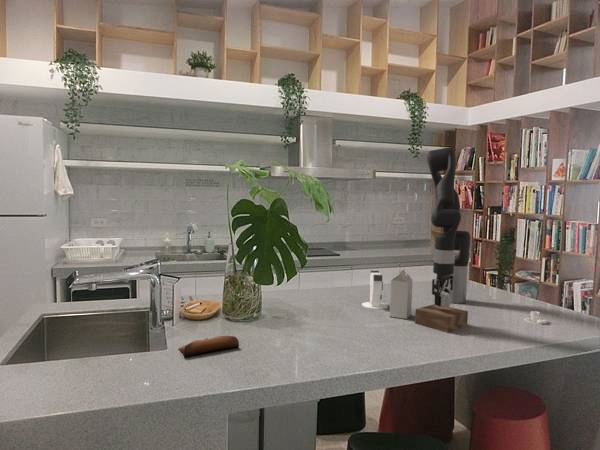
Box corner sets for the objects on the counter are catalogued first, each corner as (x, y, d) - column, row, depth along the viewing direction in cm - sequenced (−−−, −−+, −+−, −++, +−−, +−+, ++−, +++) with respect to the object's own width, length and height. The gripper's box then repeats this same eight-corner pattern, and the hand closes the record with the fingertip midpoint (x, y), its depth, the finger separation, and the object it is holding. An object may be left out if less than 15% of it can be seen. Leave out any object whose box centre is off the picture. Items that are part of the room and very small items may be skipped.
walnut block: (435, 318, 183) (435, 303, 182) (467, 326, 172) (467, 311, 172) (414, 324, 174) (415, 309, 173) (447, 333, 163) (448, 317, 163)
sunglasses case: (228, 339, 150) (232, 325, 147) (236, 356, 146) (240, 342, 142) (175, 349, 141) (178, 334, 137) (181, 367, 136) (185, 352, 133)
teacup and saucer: (549, 326, 175) (550, 316, 175) (527, 324, 177) (528, 314, 176) (542, 320, 184) (543, 310, 183) (521, 318, 185) (522, 308, 185)
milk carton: (389, 316, 182) (391, 270, 180) (394, 312, 188) (396, 268, 187) (406, 319, 179) (408, 272, 177) (411, 315, 185) (413, 269, 183)
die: (439, 308, 169) (440, 295, 169) (432, 304, 174) (433, 292, 174) (451, 307, 171) (452, 294, 170) (443, 304, 176) (444, 291, 175)
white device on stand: (390, 309, 192) (391, 275, 191) (363, 309, 193) (364, 274, 191) (385, 302, 204) (386, 270, 203) (360, 302, 205) (361, 269, 203)
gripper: (442, 258, 179) (440, 298, 180) (426, 262, 168) (424, 305, 170) (461, 260, 174) (459, 302, 175) (445, 264, 163) (443, 309, 165)
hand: (441, 303), depth 172 cm, fingers closed on die, 6 cm apart
